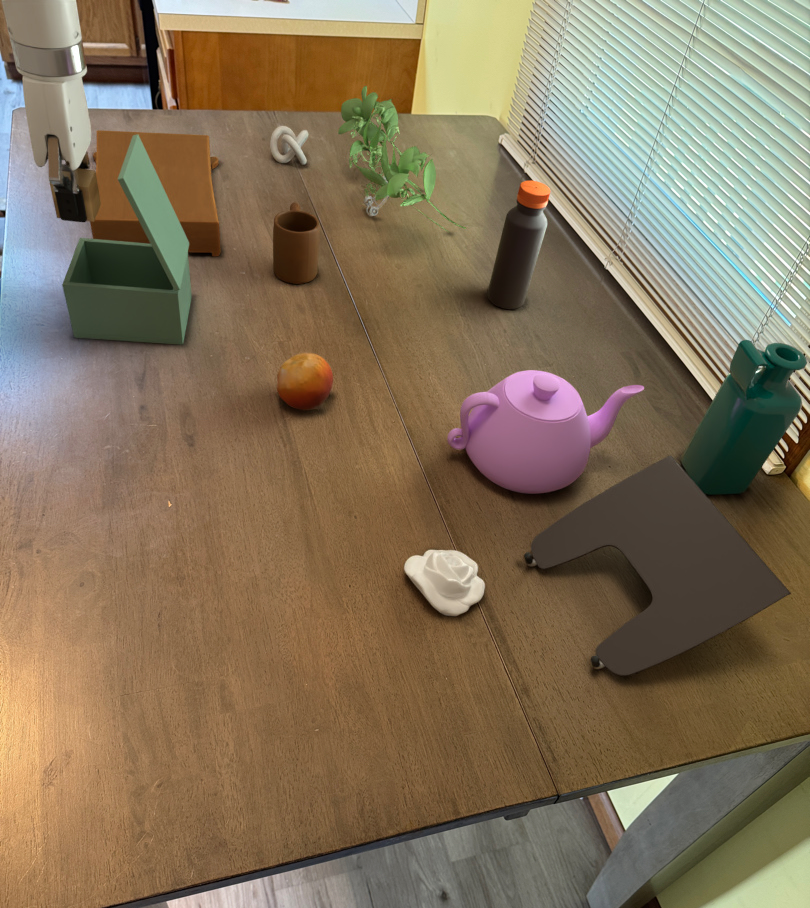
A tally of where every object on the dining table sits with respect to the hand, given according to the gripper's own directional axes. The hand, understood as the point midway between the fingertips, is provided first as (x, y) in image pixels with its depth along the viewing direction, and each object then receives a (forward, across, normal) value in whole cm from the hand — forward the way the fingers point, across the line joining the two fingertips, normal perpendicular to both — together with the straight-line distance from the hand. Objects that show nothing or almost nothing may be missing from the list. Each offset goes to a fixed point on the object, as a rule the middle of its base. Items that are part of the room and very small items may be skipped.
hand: (78, 208), depth 101 cm
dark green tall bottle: (+19, +23, +90) cm, 94 cm away
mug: (+19, -23, +28) cm, 41 cm away
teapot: (+19, +21, +63) cm, 69 cm away
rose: (+19, +45, +48) cm, 68 cm away
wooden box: (+19, -40, +2) cm, 44 cm away
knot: (+19, -63, +25) cm, 70 cm away
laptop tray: (+19, +45, +71) cm, 86 cm away
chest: (+19, -4, +4) cm, 20 cm away
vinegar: (+19, -19, +65) cm, 70 cm away
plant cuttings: (+19, -45, +46) cm, 68 cm away
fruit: (+19, +12, +30) cm, 38 cm away
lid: (+2, -5, +9) cm, 10 cm away
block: (0, 0, 0) cm, 0 cm away
